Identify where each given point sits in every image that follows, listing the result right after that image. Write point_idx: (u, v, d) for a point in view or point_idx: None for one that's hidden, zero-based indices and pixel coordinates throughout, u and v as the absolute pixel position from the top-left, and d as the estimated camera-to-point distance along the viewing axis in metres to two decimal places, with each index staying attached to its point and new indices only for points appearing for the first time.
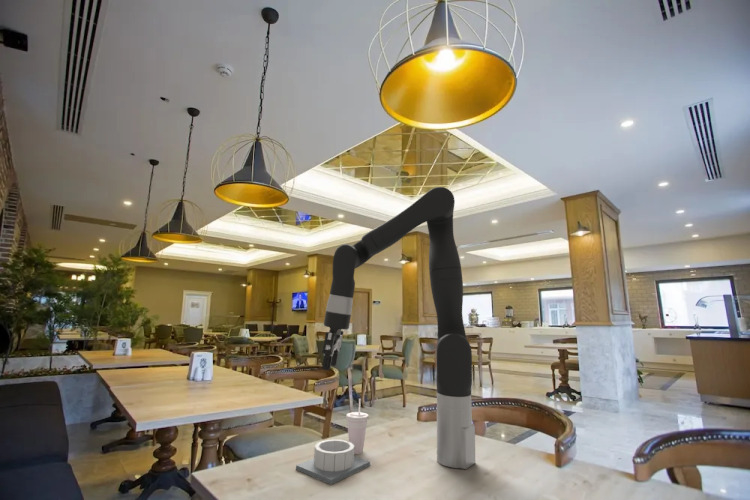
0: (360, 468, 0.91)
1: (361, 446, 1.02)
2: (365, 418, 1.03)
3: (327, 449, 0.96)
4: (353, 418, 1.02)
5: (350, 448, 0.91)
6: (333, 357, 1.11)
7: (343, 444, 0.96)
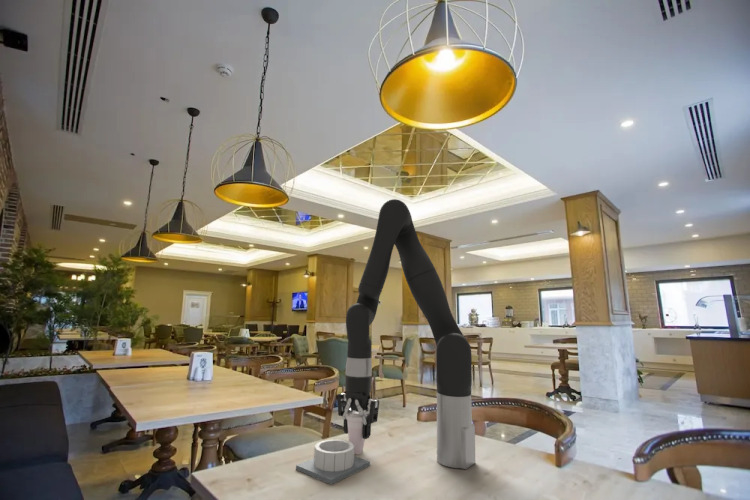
0: (360, 468, 0.91)
1: (361, 446, 1.02)
2: None
3: (327, 449, 0.96)
4: (353, 418, 1.02)
5: (350, 448, 0.91)
6: None
7: (343, 444, 0.96)
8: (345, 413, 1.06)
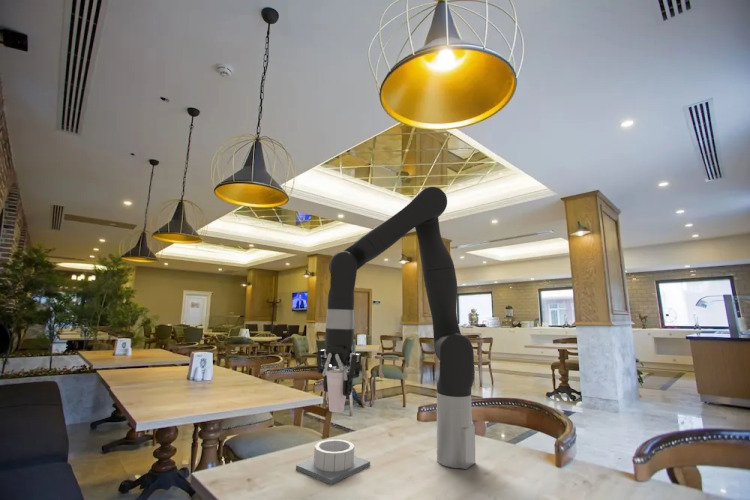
0: (360, 468, 0.91)
1: (341, 404, 0.93)
2: None
3: (327, 449, 0.96)
4: (333, 373, 0.93)
5: (350, 448, 0.91)
6: None
7: (343, 444, 0.96)
8: (325, 370, 0.97)
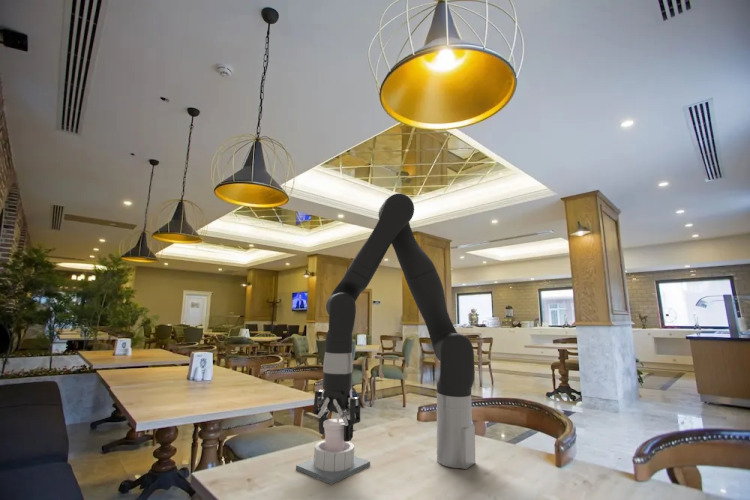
0: (360, 468, 0.91)
1: None
2: None
3: None
4: (330, 426, 0.91)
5: (350, 448, 0.91)
6: None
7: None
8: (320, 411, 0.96)
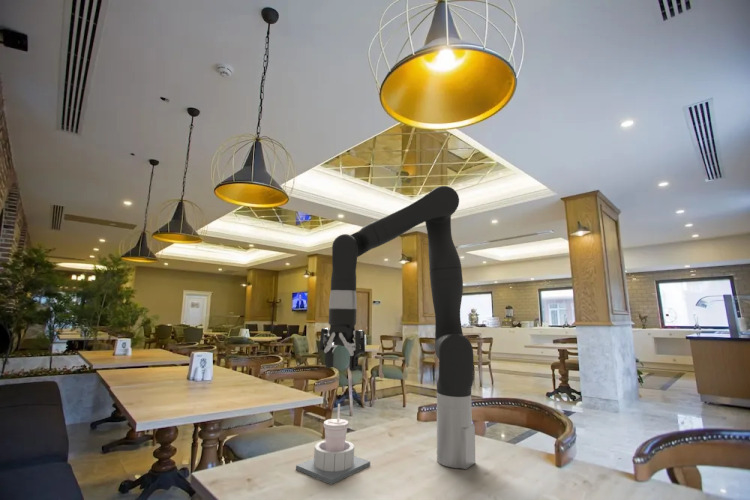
0: (360, 468, 0.91)
1: None
2: (344, 426, 0.92)
3: None
4: (331, 426, 0.91)
5: (350, 448, 0.91)
6: (330, 358, 1.01)
7: None
8: (327, 347, 1.01)
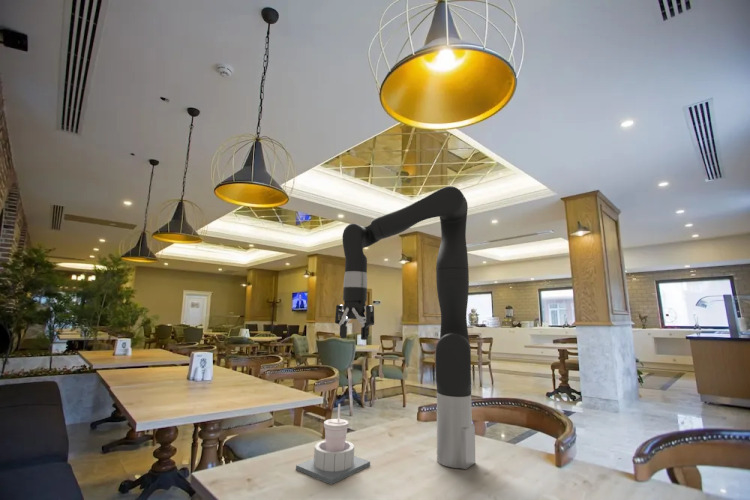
0: (360, 468, 0.91)
1: None
2: (345, 426, 0.92)
3: None
4: (331, 426, 0.91)
5: (350, 448, 0.91)
6: (344, 330, 1.18)
7: None
8: (341, 320, 1.18)
